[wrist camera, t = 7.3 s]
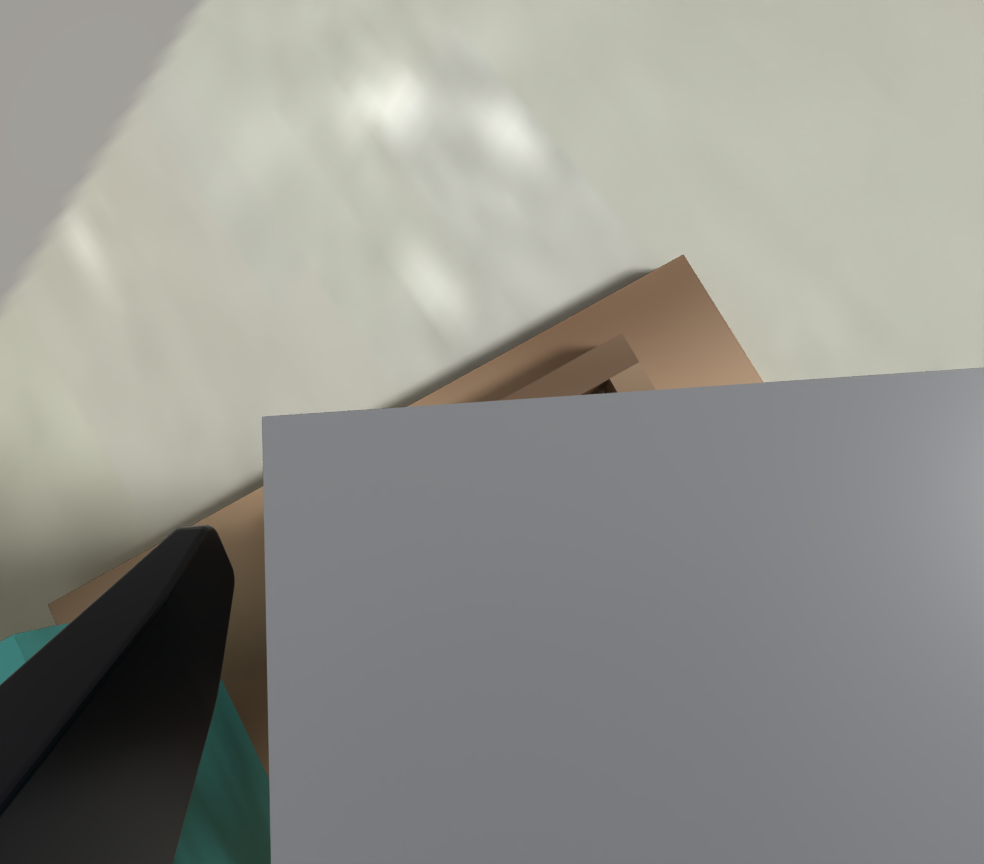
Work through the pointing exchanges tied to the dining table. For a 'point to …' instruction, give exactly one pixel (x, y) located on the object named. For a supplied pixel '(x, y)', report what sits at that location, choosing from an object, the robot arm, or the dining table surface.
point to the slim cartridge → (631, 627)
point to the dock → (513, 375)
